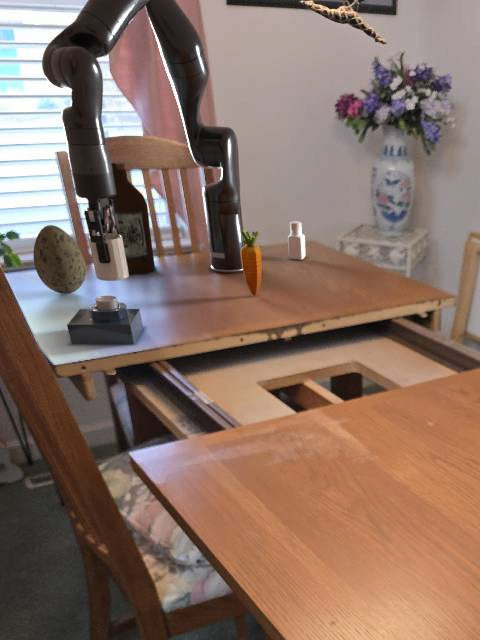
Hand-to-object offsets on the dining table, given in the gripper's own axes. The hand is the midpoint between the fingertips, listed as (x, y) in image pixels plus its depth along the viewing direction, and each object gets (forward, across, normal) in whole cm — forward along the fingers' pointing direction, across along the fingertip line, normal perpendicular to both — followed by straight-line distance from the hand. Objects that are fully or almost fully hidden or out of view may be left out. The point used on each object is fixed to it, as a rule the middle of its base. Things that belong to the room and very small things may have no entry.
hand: (109, 258), depth 148 cm
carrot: (+12, +16, -28) cm, 35 cm away
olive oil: (+12, +39, +4) cm, 41 cm away
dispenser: (+12, -12, 0) cm, 17 cm away
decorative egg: (+12, +18, +16) cm, 27 cm away
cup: (+4, 0, 0) cm, 4 cm away
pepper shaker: (+12, +52, -38) cm, 66 cm away
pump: (+7, -12, -1) cm, 14 cm away
